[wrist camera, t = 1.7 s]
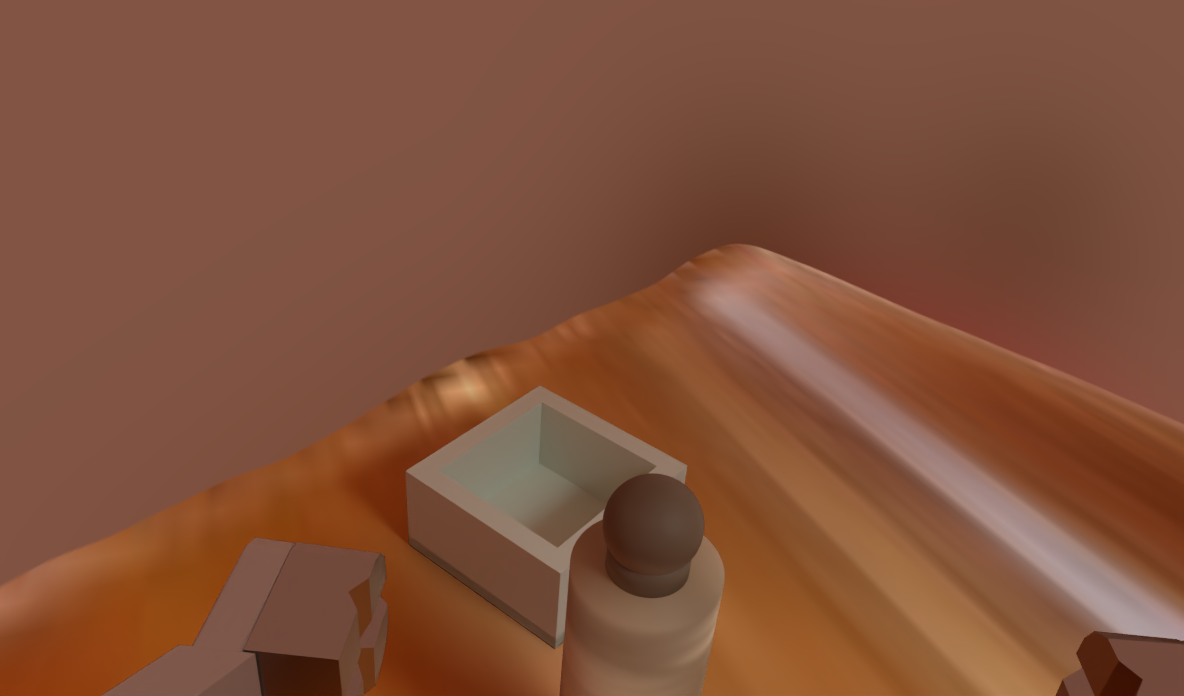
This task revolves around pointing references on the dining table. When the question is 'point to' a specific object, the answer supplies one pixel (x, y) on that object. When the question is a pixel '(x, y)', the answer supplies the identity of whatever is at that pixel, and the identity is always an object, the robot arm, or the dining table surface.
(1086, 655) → the robot arm
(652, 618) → the pepper mill
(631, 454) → the box
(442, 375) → the dining table surface
